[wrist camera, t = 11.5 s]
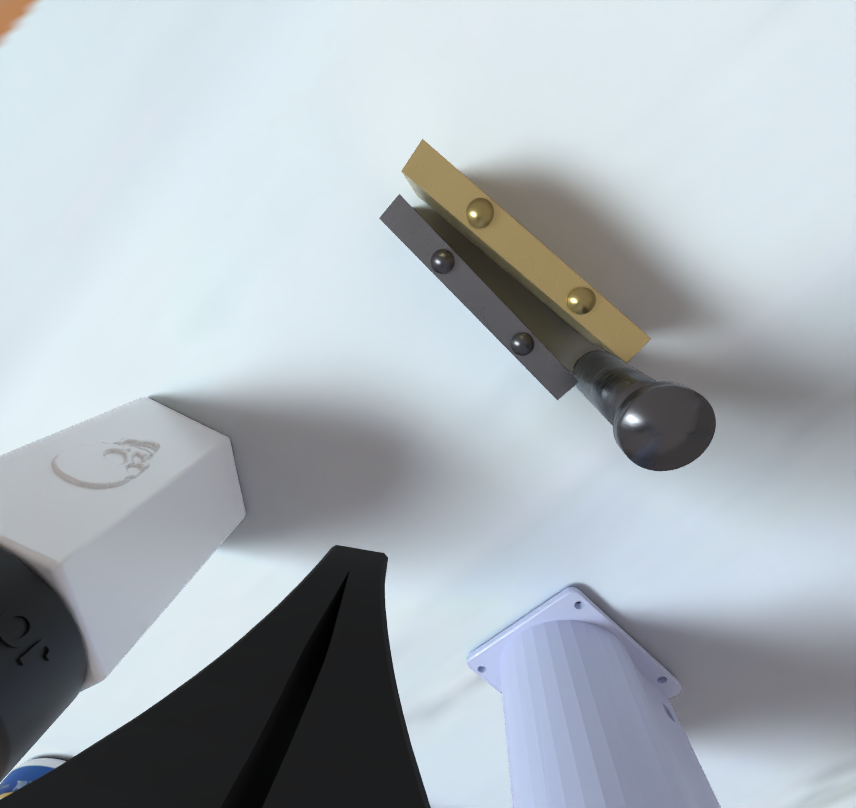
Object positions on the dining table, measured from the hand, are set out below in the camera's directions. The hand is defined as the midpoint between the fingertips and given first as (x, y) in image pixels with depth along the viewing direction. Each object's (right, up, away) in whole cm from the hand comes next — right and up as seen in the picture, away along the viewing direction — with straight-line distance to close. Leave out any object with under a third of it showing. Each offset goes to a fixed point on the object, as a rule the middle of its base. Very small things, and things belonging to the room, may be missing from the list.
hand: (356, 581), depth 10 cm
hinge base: (+6, +9, +7) cm, 13 cm away
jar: (-12, +1, +11) cm, 16 cm away
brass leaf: (+5, +10, +6) cm, 13 cm away
